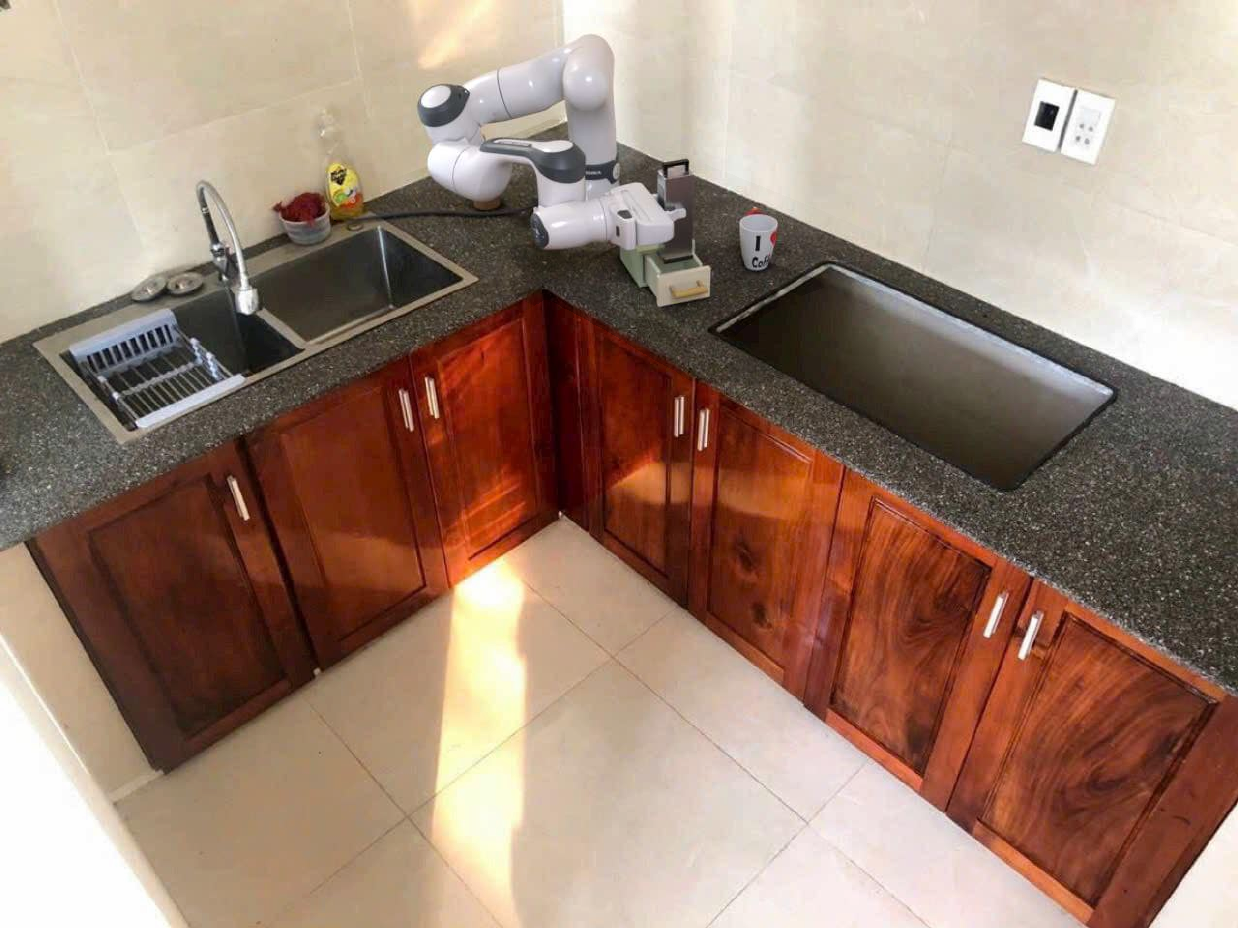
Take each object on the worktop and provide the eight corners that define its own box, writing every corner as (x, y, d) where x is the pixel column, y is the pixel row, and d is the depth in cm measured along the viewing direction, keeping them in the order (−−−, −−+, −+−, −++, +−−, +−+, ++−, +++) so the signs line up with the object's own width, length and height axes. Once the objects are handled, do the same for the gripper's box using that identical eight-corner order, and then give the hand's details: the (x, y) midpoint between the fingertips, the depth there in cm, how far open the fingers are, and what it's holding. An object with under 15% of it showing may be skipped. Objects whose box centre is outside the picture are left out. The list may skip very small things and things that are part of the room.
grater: (693, 259, 206) (695, 164, 192) (664, 264, 204) (664, 169, 191) (685, 248, 209) (686, 154, 196) (656, 253, 208) (656, 159, 195)
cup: (750, 277, 216) (753, 235, 210) (730, 261, 222) (732, 220, 215) (781, 267, 219) (785, 226, 212) (761, 252, 224) (763, 211, 218)
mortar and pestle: (505, 202, 247) (497, 131, 236) (489, 212, 243) (480, 141, 232) (484, 196, 250) (475, 126, 238) (468, 206, 246) (458, 136, 234)
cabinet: (694, 276, 217) (695, 241, 211) (639, 287, 214) (639, 251, 209) (672, 248, 227) (672, 213, 221) (620, 258, 224) (618, 223, 219)
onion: (766, 233, 231) (768, 201, 226) (766, 245, 227) (769, 213, 221) (741, 232, 232) (743, 200, 226) (741, 244, 227) (742, 212, 222)
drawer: (717, 306, 206) (718, 277, 201) (665, 317, 203) (665, 288, 199) (688, 268, 218) (688, 240, 214) (638, 278, 216) (638, 250, 211)
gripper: (598, 209, 206) (661, 198, 209) (630, 255, 191) (697, 242, 194) (597, 181, 202) (661, 170, 205) (630, 225, 187) (698, 212, 190)
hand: (679, 205), depth 200 cm, fingers closed on grater, 4 cm apart
